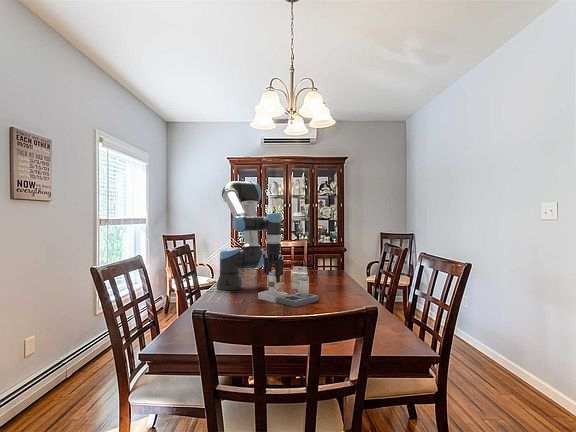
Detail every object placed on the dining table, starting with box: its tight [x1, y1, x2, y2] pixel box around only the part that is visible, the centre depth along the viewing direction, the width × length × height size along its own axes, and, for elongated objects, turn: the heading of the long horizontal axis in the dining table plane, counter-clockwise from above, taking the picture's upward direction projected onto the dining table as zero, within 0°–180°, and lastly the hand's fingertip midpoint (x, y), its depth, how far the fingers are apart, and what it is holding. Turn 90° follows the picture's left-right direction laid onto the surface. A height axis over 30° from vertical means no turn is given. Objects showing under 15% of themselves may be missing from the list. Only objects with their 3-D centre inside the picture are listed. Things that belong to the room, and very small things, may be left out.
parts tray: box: [257, 290, 289, 303], centre depth 187 cm, size 12×10×3 cm
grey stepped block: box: [291, 265, 309, 294], centre depth 201 cm, size 9×5×15 cm, turn 84°
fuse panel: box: [276, 292, 320, 308], centre depth 182 cm, size 12×18×3 cm, turn 138°
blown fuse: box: [268, 270, 279, 296], centre depth 187 cm, size 5×5×12 cm
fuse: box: [300, 276, 310, 297], centre depth 185 cm, size 5×5×12 cm
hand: (273, 287), depth 187 cm, fingers closed on blown fuse, 4 cm apart
